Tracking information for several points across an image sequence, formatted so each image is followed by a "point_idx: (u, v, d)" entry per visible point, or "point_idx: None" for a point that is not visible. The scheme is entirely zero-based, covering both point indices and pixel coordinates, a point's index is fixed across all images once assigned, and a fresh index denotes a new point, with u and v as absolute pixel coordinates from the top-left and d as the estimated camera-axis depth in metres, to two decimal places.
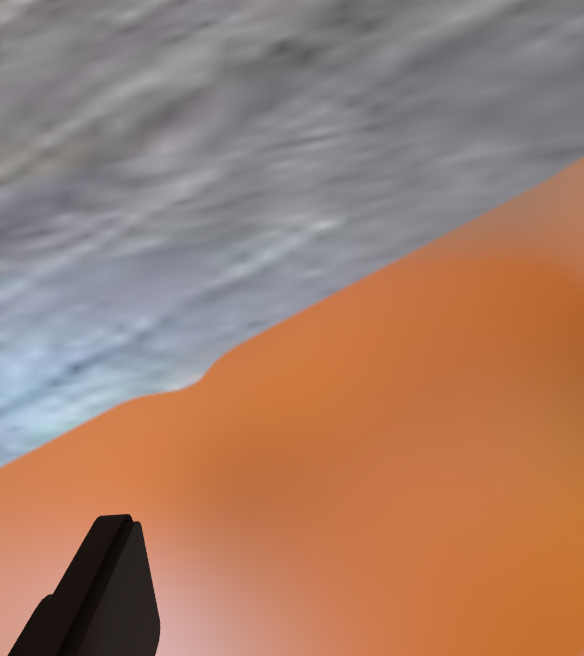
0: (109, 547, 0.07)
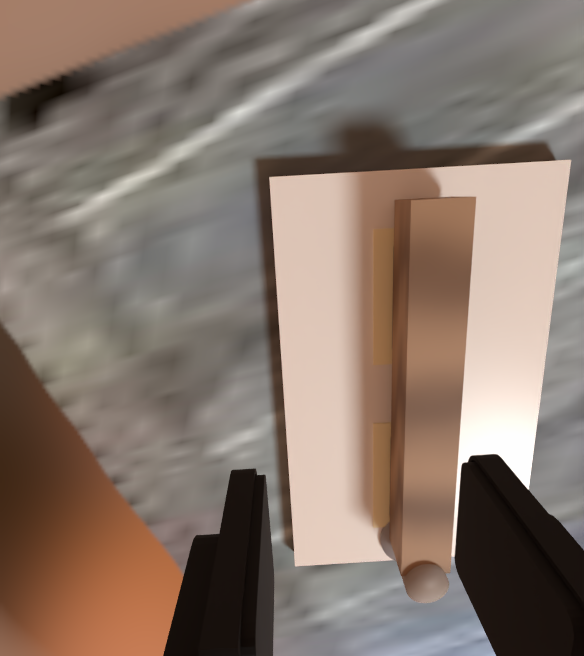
0: (252, 493, 0.08)
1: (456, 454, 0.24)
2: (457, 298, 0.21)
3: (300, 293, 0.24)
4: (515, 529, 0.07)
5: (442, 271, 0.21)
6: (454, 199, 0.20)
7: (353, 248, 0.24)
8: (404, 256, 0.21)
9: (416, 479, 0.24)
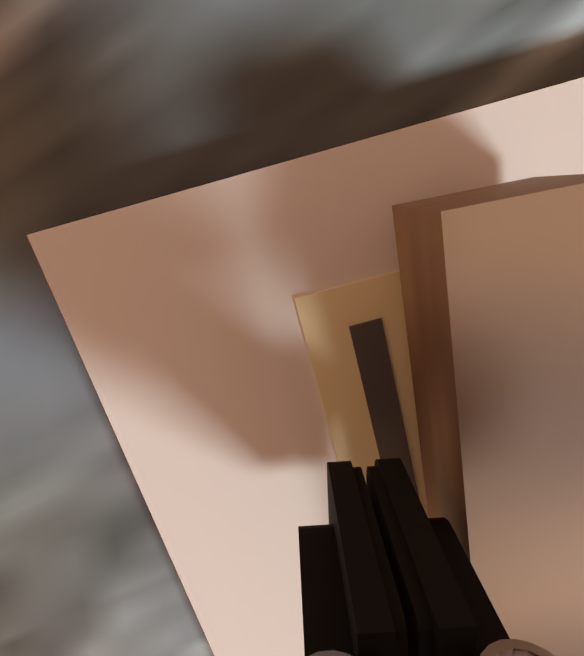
0: (355, 484, 0.08)
1: None
2: None
3: (177, 453, 0.12)
4: (393, 533, 0.07)
5: (554, 398, 0.07)
6: (579, 188, 0.06)
7: (262, 345, 0.11)
8: (436, 356, 0.08)
9: None
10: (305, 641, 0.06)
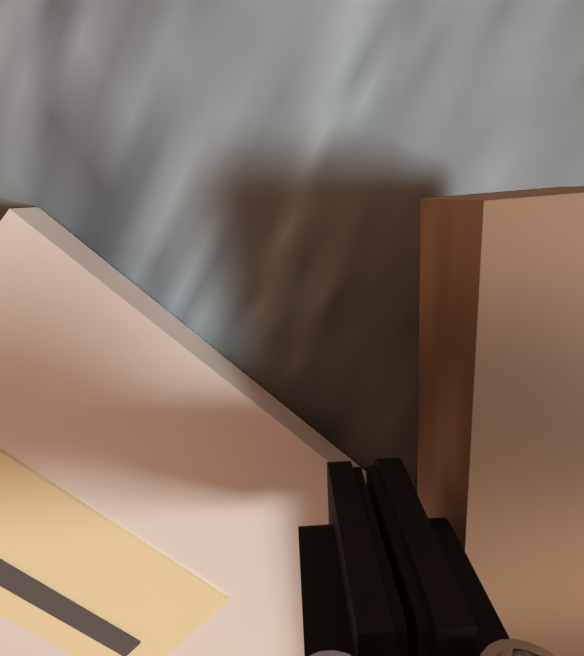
0: (355, 484, 0.08)
1: None
2: None
3: None
4: (393, 533, 0.07)
5: (568, 399, 0.07)
6: None
7: None
8: (453, 348, 0.08)
9: None
10: (305, 641, 0.06)
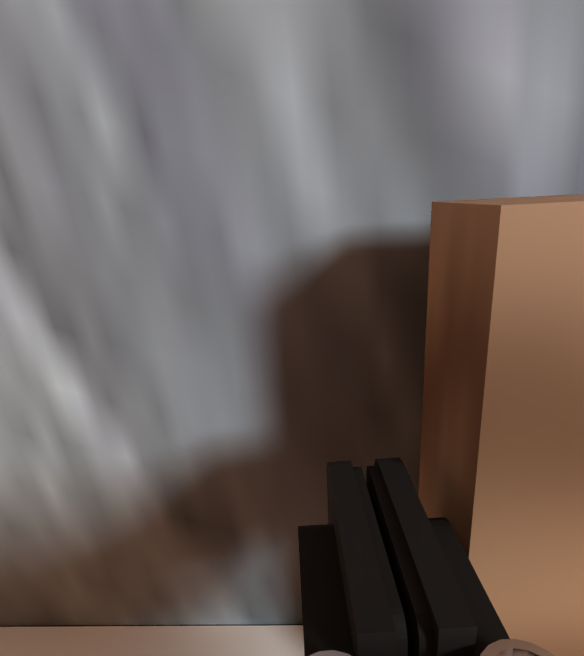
0: (355, 484, 0.08)
1: None
2: None
3: None
4: (394, 533, 0.07)
5: (577, 407, 0.07)
6: None
7: None
8: (462, 353, 0.08)
9: None
10: (305, 641, 0.06)
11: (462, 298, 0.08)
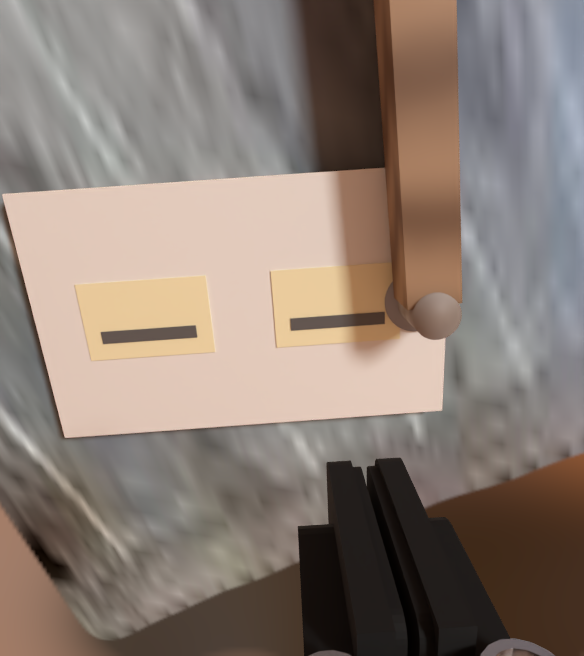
0: (355, 484, 0.08)
1: (456, 139, 0.21)
2: None
3: (154, 413, 0.29)
4: (394, 533, 0.07)
5: None
6: None
7: (110, 374, 0.28)
8: None
9: (414, 176, 0.21)
10: (305, 641, 0.06)
11: None
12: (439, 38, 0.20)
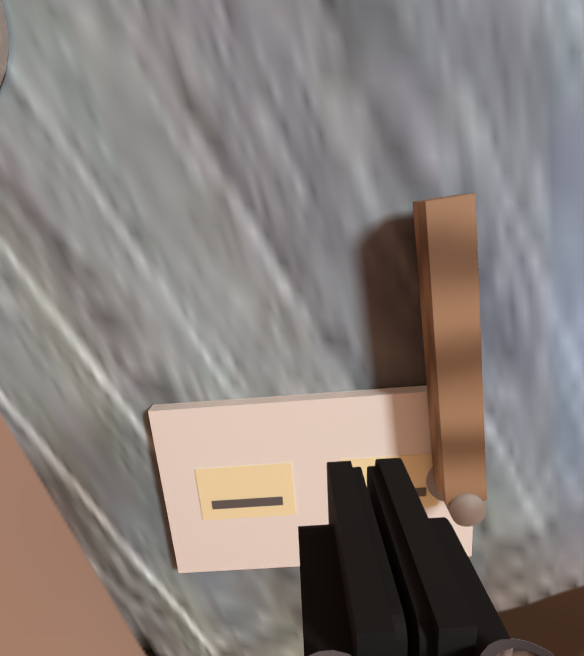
0: (355, 484, 0.08)
1: (481, 398, 0.30)
2: (468, 272, 0.27)
3: (247, 556, 0.38)
4: (394, 533, 0.07)
5: (455, 252, 0.27)
6: (458, 197, 0.26)
7: (216, 529, 0.37)
8: (424, 244, 0.28)
9: (450, 421, 0.30)
10: (305, 641, 0.06)
11: (422, 228, 0.28)
12: (468, 339, 0.28)
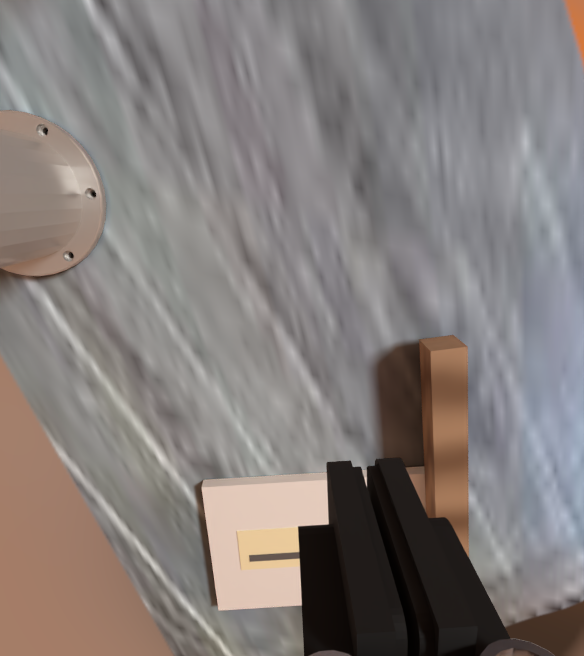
0: (355, 484, 0.08)
1: (466, 488, 0.39)
2: (460, 400, 0.36)
3: (275, 597, 0.47)
4: (394, 533, 0.07)
5: (451, 386, 0.36)
6: (455, 349, 0.35)
7: (251, 576, 0.46)
8: (427, 376, 0.36)
9: (443, 503, 0.39)
10: (305, 641, 0.06)
11: (426, 365, 0.36)
12: (458, 446, 0.37)
